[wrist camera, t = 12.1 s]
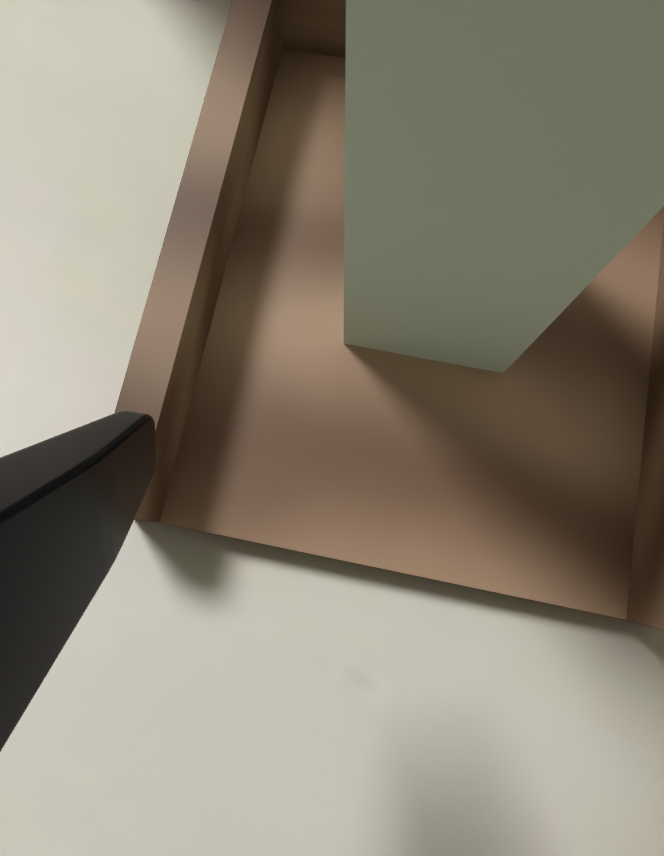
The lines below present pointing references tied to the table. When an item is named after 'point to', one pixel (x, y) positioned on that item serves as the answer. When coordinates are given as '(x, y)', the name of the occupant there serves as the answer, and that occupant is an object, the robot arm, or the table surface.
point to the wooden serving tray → (383, 370)
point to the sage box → (492, 165)
